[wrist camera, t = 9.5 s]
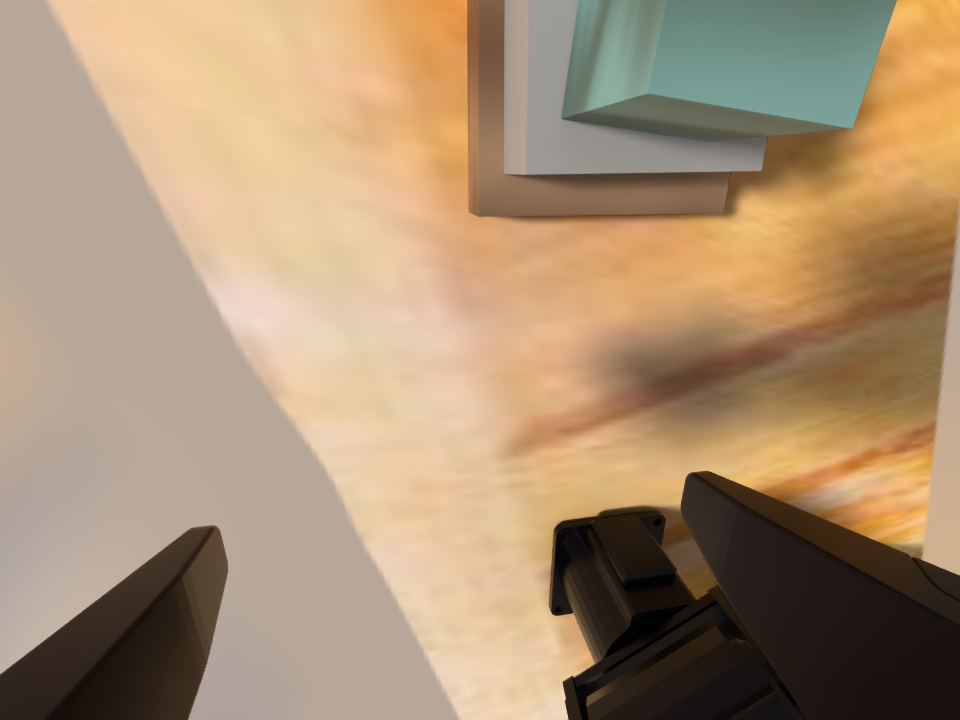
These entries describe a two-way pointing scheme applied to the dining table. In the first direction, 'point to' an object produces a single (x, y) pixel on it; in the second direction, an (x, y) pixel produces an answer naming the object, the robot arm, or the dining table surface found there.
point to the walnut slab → (556, 191)
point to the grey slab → (578, 145)
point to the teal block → (723, 65)
